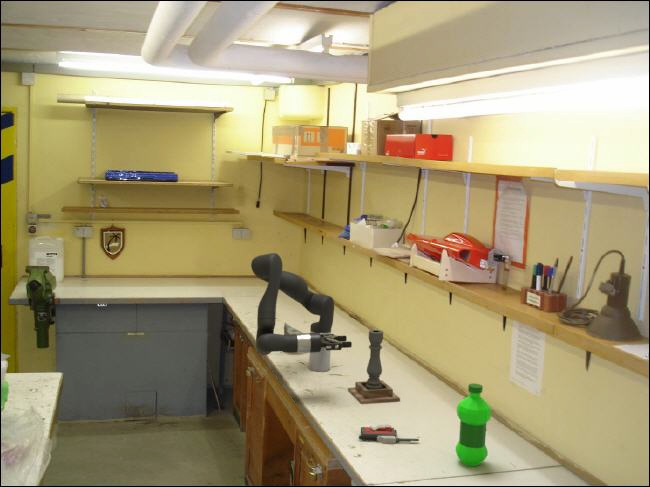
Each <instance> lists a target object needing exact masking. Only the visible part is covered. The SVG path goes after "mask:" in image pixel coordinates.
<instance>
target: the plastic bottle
mask: <svg viewBox="0 0 650 487" xmlns="http://www.w3.org/2000/svg"><path fill="white" fill-rule="evenodd" d="M483 388H484V387H483V385H482V384H479V383H469V384H468V387H467V391H468V392H469V395H468V396H467V397H465V398H463V399H462V400H461V401H460V402H458V404H457V406H456V414H457V416H458V419H459V420H460V422H459V424H460V425H459V439H458V442H457V444H456V446H455V453H456V456H457V457H458V459H459V460H460V461H461V462H462V464H464V465H466V466H469V467H477V466H479V465H480V464H482V463H483V462H484V461H485V460H486V459H487V456H488V454H489V453H488V448H487V446H486V434H487V433H486V432H487V423H488V422H489V421H490V420H491V417H492V408H491V407H490V405H489V404H488V403H487V402H486V401H485V399H484V398H483V397H481V394H482V393H483Z"/></svg>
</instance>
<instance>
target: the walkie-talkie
mask: <svg viewBox="0 0 650 487" xmlns="http://www.w3.org/2000/svg"><path fill="white" fill-rule="evenodd" d="M397 436H398V433H397V429H395V428H394V427H392V426H391V425H389V424H378V425H376V426H373V425H369V426H361V427H360V435H359V436H358V439H359V440H361V441H363V442H367V441H368V442H378V443H381V444H394V445H396V443H399V442H403V443H404V442H406V443H410V442H419V441H420V440H419V438H405V437H404V438H403V437H402V438H399V437H397Z"/></svg>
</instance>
